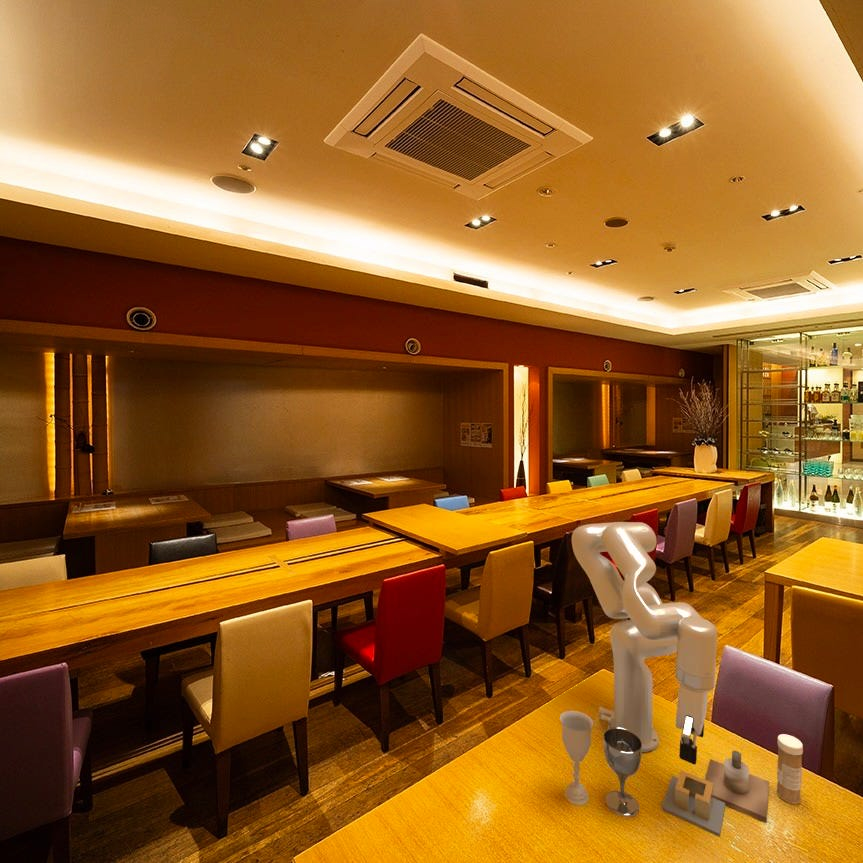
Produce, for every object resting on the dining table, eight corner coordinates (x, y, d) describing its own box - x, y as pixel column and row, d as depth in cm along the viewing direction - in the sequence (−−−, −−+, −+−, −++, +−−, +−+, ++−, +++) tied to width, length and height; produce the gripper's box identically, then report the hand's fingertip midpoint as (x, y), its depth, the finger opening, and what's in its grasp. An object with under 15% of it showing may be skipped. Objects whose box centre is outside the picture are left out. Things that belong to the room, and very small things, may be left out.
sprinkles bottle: (777, 785, 111) (779, 730, 110) (802, 796, 108) (804, 739, 107) (774, 797, 107) (776, 740, 107) (800, 809, 104) (801, 750, 103)
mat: (662, 809, 105) (662, 807, 105) (672, 778, 113) (672, 775, 113) (719, 836, 98) (719, 833, 98) (726, 800, 107) (726, 798, 107)
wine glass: (595, 796, 109) (595, 733, 108) (622, 784, 112) (622, 723, 111) (622, 824, 101) (622, 757, 101) (649, 811, 105) (650, 745, 104)
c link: (674, 805, 105) (675, 788, 105) (680, 786, 110) (680, 769, 110) (709, 821, 101) (709, 803, 101) (713, 800, 106) (713, 783, 106)
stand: (702, 795, 108) (702, 757, 108) (709, 763, 118) (710, 728, 117) (766, 822, 101) (767, 782, 100) (769, 786, 110) (769, 749, 110)
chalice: (558, 803, 107) (558, 726, 106) (561, 780, 113) (561, 708, 112) (593, 812, 104) (592, 733, 103) (593, 788, 111) (593, 714, 110)
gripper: (683, 651, 113) (680, 718, 115) (667, 688, 100) (664, 763, 102) (720, 662, 109) (716, 731, 111) (708, 703, 95) (704, 781, 97)
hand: (691, 747), depth 106 cm, fingers open, 9 cm apart
